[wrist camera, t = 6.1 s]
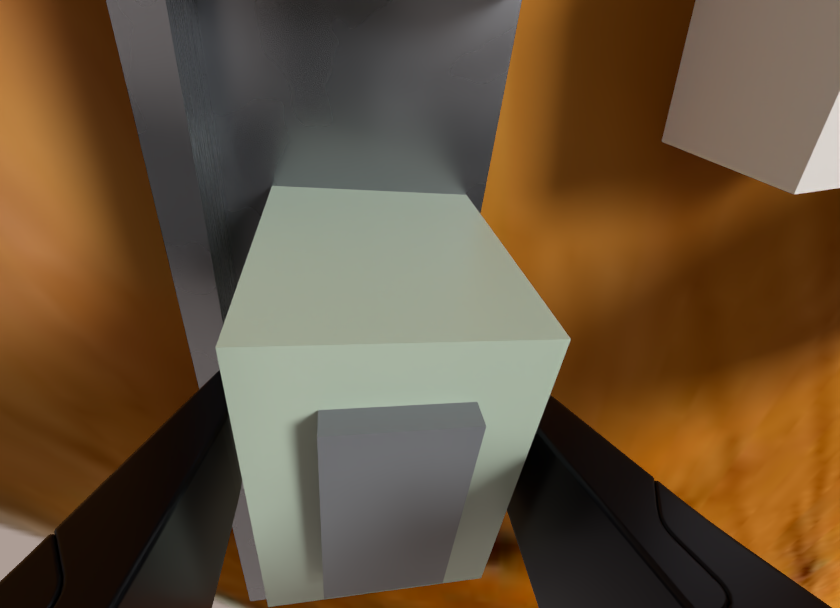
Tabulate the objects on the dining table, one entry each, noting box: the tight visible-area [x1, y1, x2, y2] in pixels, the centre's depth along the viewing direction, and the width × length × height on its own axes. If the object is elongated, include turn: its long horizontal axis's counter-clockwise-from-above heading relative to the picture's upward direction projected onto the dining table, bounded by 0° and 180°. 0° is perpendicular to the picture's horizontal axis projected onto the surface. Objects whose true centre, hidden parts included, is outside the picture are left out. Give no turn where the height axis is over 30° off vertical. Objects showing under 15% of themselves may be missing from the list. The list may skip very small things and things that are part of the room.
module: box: [215, 186, 571, 607], centre depth 8 cm, size 4×6×5 cm, turn 174°
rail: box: [106, 0, 522, 601], centre depth 10 cm, size 6×22×3 cm, turn 174°
